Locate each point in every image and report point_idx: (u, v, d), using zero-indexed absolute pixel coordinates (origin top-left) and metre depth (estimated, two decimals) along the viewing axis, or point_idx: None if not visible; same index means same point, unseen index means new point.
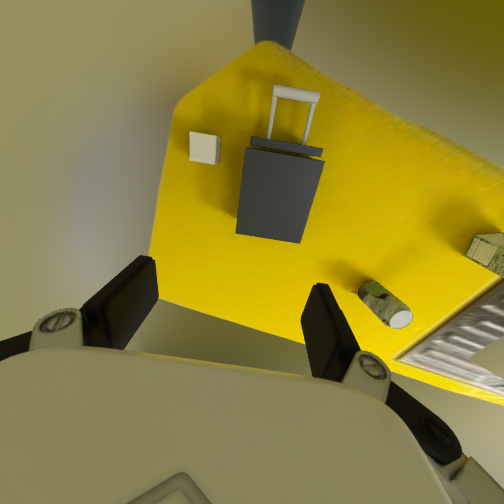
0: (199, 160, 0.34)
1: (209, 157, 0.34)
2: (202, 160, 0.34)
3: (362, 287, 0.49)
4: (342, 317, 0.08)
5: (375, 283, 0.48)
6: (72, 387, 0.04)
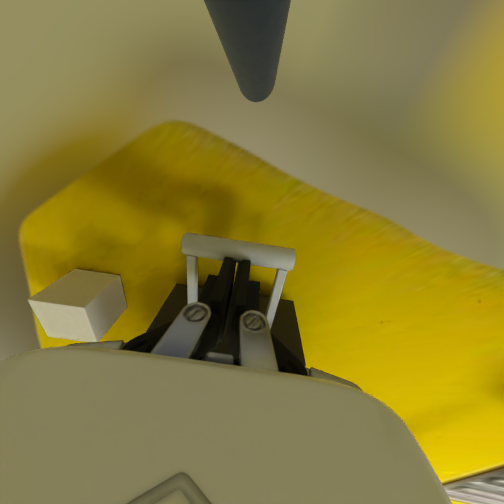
0: (66, 337, 0.17)
1: (84, 334, 0.17)
2: (72, 337, 0.17)
3: None
4: (246, 285, 0.09)
5: None
6: (72, 387, 0.04)
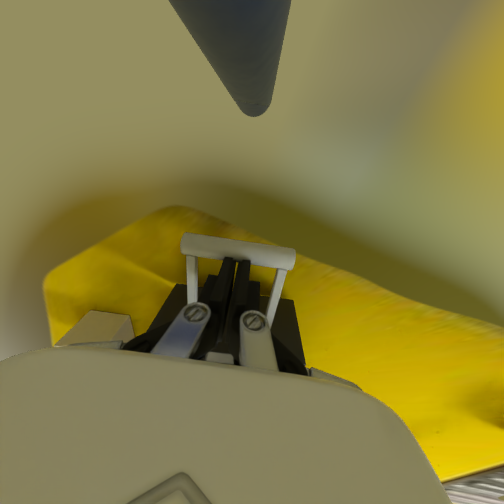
0: None
1: None
2: None
3: None
4: (246, 285, 0.09)
5: None
6: (72, 387, 0.04)
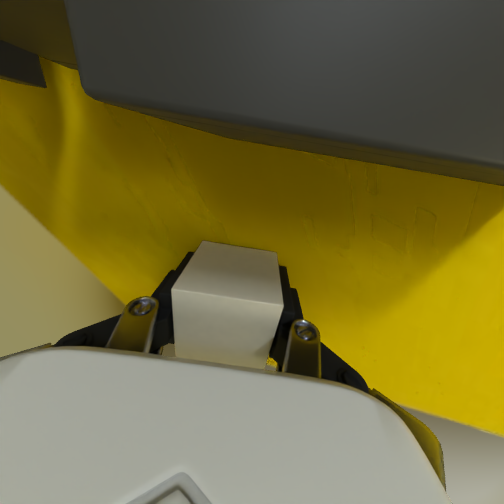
0: (264, 348, 0.09)
1: (253, 317, 0.08)
2: (265, 340, 0.09)
3: None
4: (289, 292, 0.09)
5: None
6: (72, 387, 0.04)
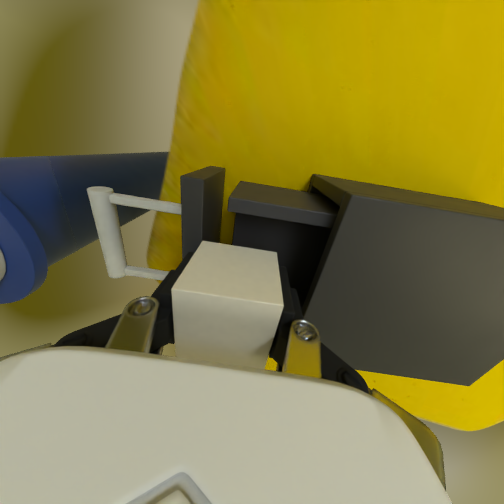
0: (264, 348, 0.09)
1: (253, 317, 0.08)
2: (265, 340, 0.09)
3: None
4: (289, 292, 0.09)
5: None
6: (72, 387, 0.04)
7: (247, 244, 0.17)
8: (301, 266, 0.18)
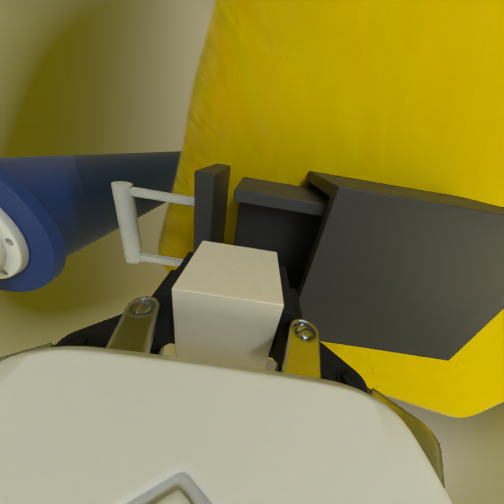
0: (265, 348, 0.09)
1: (253, 317, 0.08)
2: (265, 339, 0.09)
3: None
4: (289, 292, 0.09)
5: None
6: (72, 387, 0.04)
7: (249, 234, 0.19)
8: (298, 255, 0.20)
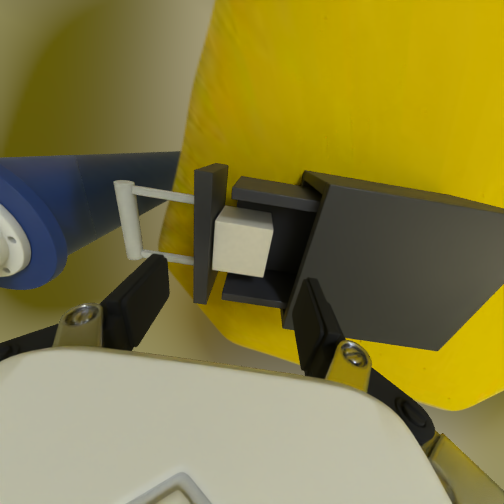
0: (263, 260, 0.16)
1: (257, 238, 0.15)
2: (263, 254, 0.16)
3: None
4: (328, 309, 0.09)
5: None
6: (72, 387, 0.04)
7: None
8: (294, 251, 0.20)
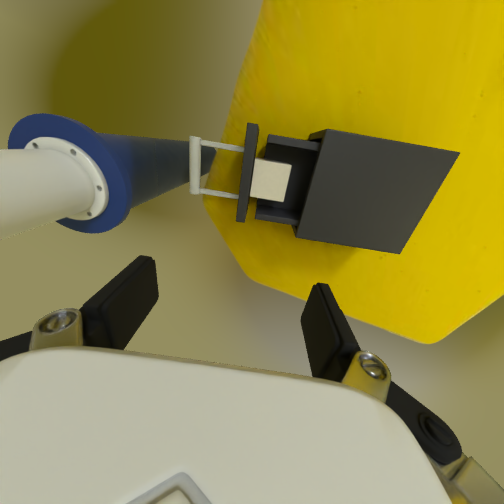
0: (284, 188, 0.25)
1: (281, 171, 0.24)
2: (284, 183, 0.24)
3: None
4: (342, 317, 0.08)
5: None
6: (72, 387, 0.04)
7: None
8: (302, 193, 0.29)
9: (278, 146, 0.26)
